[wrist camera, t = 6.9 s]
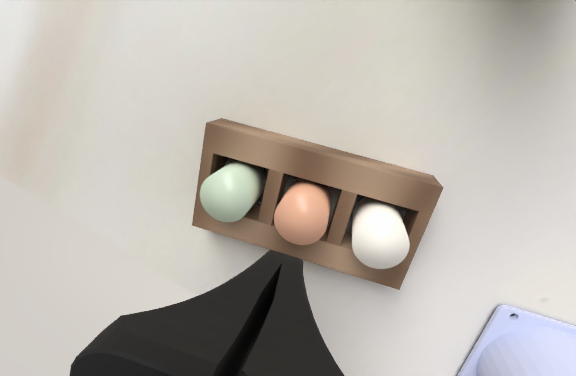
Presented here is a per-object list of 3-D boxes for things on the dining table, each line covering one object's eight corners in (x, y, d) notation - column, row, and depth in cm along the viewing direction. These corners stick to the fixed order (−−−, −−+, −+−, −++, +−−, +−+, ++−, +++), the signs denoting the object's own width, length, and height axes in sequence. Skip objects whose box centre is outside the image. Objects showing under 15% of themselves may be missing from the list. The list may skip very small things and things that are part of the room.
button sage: (270, 164, 21) (254, 181, 18) (262, 205, 22) (244, 228, 19) (228, 152, 21) (203, 166, 18) (221, 192, 22) (196, 214, 19)
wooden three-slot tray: (433, 175, 20) (443, 187, 18) (394, 268, 22) (399, 289, 20) (221, 118, 21) (206, 122, 19) (207, 211, 24) (192, 225, 22)
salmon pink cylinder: (337, 183, 21) (333, 204, 17) (325, 223, 22) (319, 251, 18) (292, 170, 21) (280, 188, 17) (282, 211, 22) (269, 236, 18)
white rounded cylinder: (406, 202, 20) (418, 228, 17) (390, 243, 21) (398, 275, 18) (360, 189, 20) (361, 212, 17) (346, 230, 22) (345, 259, 18)
